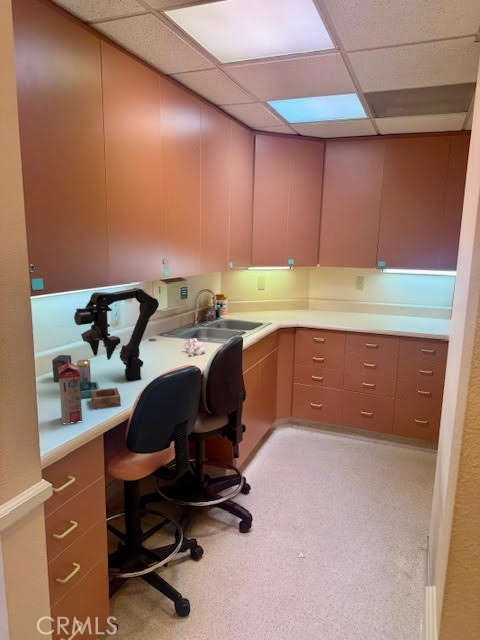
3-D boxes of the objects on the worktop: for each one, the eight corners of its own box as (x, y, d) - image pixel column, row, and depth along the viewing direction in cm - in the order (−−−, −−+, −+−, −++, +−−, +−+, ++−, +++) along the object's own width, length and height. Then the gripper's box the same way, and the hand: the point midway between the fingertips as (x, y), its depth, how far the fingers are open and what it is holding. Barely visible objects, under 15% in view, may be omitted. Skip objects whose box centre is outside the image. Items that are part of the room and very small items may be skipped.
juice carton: (81, 414, 159) (77, 357, 155) (82, 422, 153) (79, 362, 149) (61, 417, 156) (57, 358, 152) (62, 424, 150) (58, 364, 146)
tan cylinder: (93, 389, 181) (92, 359, 179) (88, 394, 176) (86, 363, 174) (82, 389, 182) (80, 359, 179) (76, 393, 177) (74, 362, 174)
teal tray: (97, 388, 186) (97, 381, 186) (100, 396, 177) (99, 389, 176) (70, 391, 182) (69, 384, 182) (71, 400, 172) (70, 393, 172)
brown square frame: (117, 396, 177) (116, 387, 176) (120, 405, 168) (120, 396, 167) (91, 400, 173) (91, 390, 172) (93, 409, 164) (93, 399, 163)
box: (60, 376, 200) (59, 354, 198) (72, 377, 200) (71, 355, 198) (53, 382, 192) (51, 359, 190) (65, 382, 192) (64, 359, 190)
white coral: (210, 350, 239) (197, 339, 236) (199, 362, 238) (187, 351, 235) (204, 345, 250) (192, 334, 247) (194, 356, 250) (182, 346, 246)
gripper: (70, 322, 182) (72, 357, 185) (98, 328, 172) (99, 366, 174) (93, 318, 191) (94, 352, 194) (120, 324, 180) (121, 360, 183)
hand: (102, 357), depth 186 cm, fingers open, 9 cm apart
